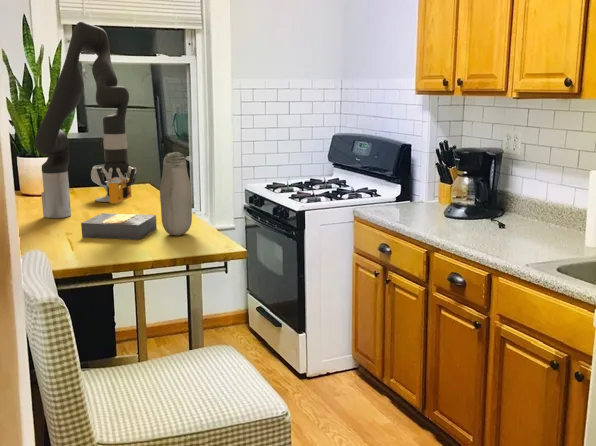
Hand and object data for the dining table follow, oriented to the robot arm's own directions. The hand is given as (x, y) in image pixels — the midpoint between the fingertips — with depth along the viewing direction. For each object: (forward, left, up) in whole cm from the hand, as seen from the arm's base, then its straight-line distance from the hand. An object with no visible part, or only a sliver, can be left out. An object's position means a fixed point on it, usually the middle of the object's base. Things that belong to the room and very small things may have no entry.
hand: (118, 197), depth 218 cm
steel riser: (0, 0, -12) cm, 12 cm away
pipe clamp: (0, 0, -1) cm, 1 cm away
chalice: (-30, +58, -13) cm, 66 cm away
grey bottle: (+20, +1, -13) cm, 24 cm away
